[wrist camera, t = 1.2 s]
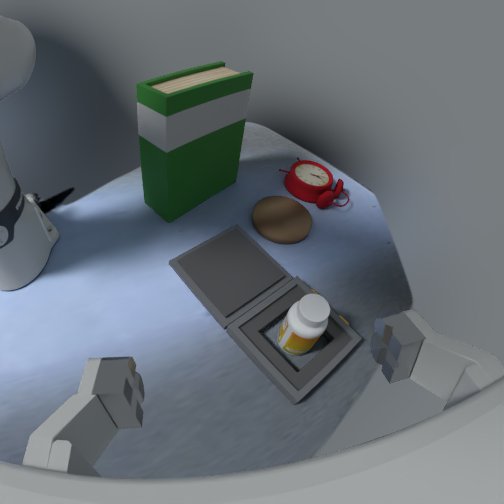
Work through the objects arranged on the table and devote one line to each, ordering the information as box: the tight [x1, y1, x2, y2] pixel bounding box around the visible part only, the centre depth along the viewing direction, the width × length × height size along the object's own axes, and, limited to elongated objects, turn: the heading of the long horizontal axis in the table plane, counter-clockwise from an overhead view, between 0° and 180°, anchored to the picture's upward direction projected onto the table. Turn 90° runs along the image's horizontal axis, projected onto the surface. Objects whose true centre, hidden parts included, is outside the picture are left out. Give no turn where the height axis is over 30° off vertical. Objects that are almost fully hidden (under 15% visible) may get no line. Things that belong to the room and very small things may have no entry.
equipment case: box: [169, 225, 362, 405], centre depth 48 cm, size 28×15×2 cm, turn 42°
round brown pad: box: [252, 196, 312, 244], centre depth 59 cm, size 11×11×2 cm
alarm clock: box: [279, 158, 349, 209], centre depth 66 cm, size 10×6×15 cm
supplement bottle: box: [277, 294, 330, 356], centre depth 42 cm, size 5×5×10 cm
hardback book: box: [137, 62, 253, 223], centre depth 53 cm, size 18×7×24 cm, turn 140°
